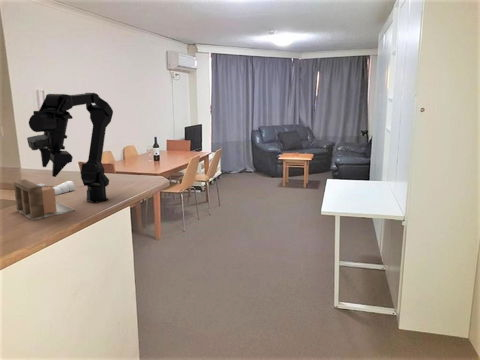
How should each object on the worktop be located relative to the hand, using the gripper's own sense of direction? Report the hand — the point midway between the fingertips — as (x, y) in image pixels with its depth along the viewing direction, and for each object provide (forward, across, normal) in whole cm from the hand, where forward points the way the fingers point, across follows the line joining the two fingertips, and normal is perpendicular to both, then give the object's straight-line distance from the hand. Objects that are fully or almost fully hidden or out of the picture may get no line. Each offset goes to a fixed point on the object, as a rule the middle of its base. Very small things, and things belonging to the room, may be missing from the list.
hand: (49, 171), depth 138 cm
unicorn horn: (+19, -20, +12) cm, 30 cm away
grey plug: (+16, -3, 0) cm, 16 cm away
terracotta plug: (+14, +3, 0) cm, 15 cm away
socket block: (+16, 0, +2) cm, 16 cm away
